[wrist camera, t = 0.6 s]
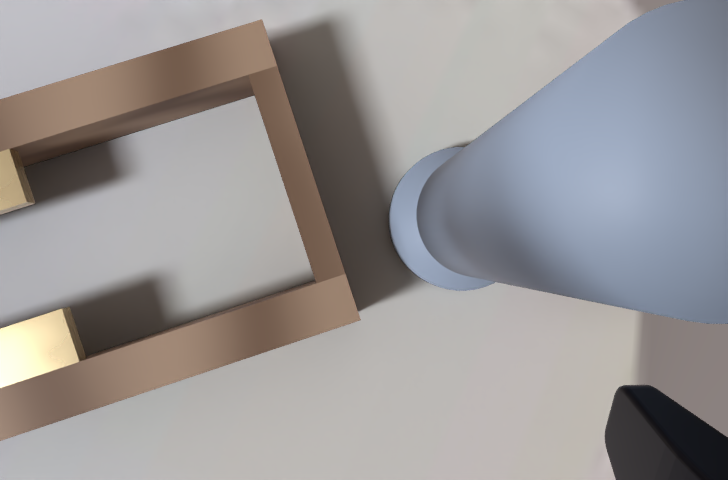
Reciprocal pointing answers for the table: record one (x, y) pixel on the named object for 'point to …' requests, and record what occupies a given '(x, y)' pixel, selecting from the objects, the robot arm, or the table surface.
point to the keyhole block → (122, 117)
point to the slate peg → (593, 179)
